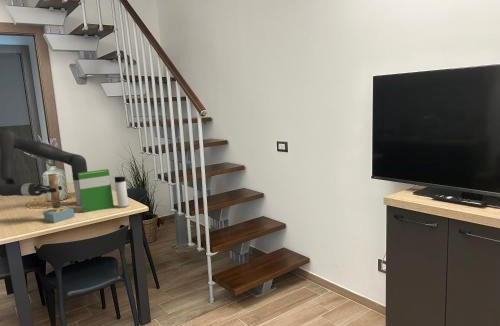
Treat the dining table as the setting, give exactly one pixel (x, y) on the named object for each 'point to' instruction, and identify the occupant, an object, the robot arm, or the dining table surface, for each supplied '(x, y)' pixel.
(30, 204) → the dining table surface
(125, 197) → the travel mug
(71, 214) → the socket block
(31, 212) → the dining table surface
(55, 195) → the peg
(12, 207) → the dining table surface
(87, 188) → the hardback book
